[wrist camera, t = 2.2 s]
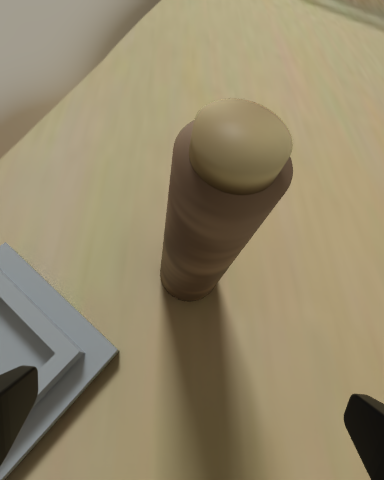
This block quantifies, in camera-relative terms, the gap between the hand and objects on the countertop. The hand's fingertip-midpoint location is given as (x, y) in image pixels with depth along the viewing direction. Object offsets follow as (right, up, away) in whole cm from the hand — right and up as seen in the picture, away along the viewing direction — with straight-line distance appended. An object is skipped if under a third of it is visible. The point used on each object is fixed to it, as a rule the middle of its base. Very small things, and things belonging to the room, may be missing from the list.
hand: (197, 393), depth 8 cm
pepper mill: (0, +2, +15) cm, 15 cm away
